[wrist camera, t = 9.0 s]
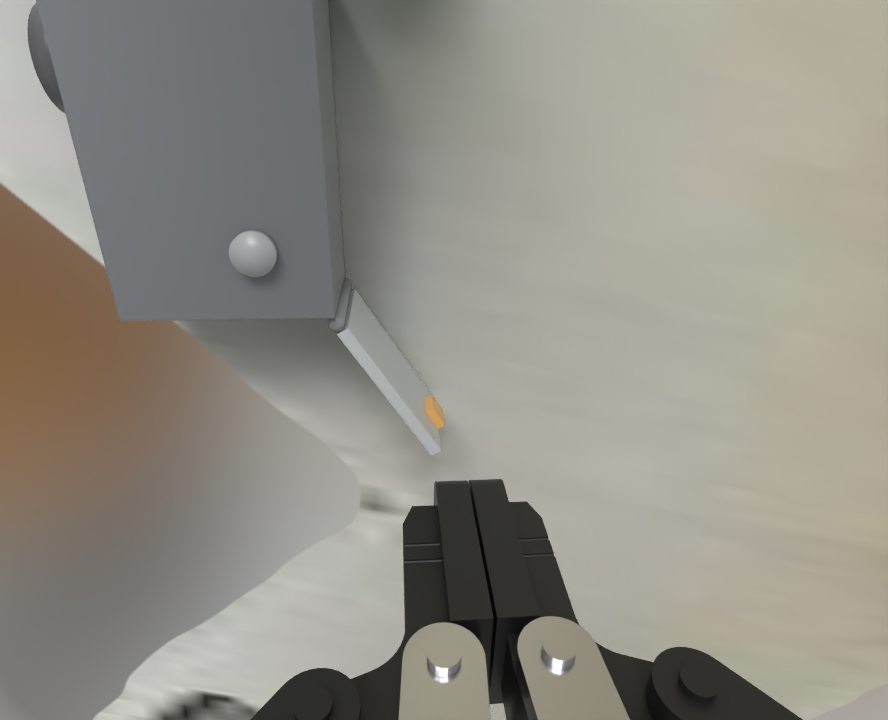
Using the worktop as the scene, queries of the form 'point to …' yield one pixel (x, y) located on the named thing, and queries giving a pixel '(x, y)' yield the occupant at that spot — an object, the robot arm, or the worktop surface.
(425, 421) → the side door
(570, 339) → the worktop surface
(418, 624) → the robot arm
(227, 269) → the grey knobbed box
